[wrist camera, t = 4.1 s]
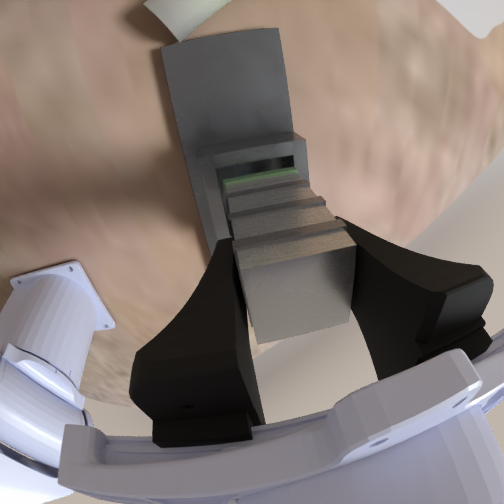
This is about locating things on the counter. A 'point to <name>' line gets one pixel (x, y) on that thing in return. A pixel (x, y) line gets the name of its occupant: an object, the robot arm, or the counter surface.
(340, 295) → the column
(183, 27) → the leek
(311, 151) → the counter surface
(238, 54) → the stand
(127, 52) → the counter surface
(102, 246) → the counter surface
